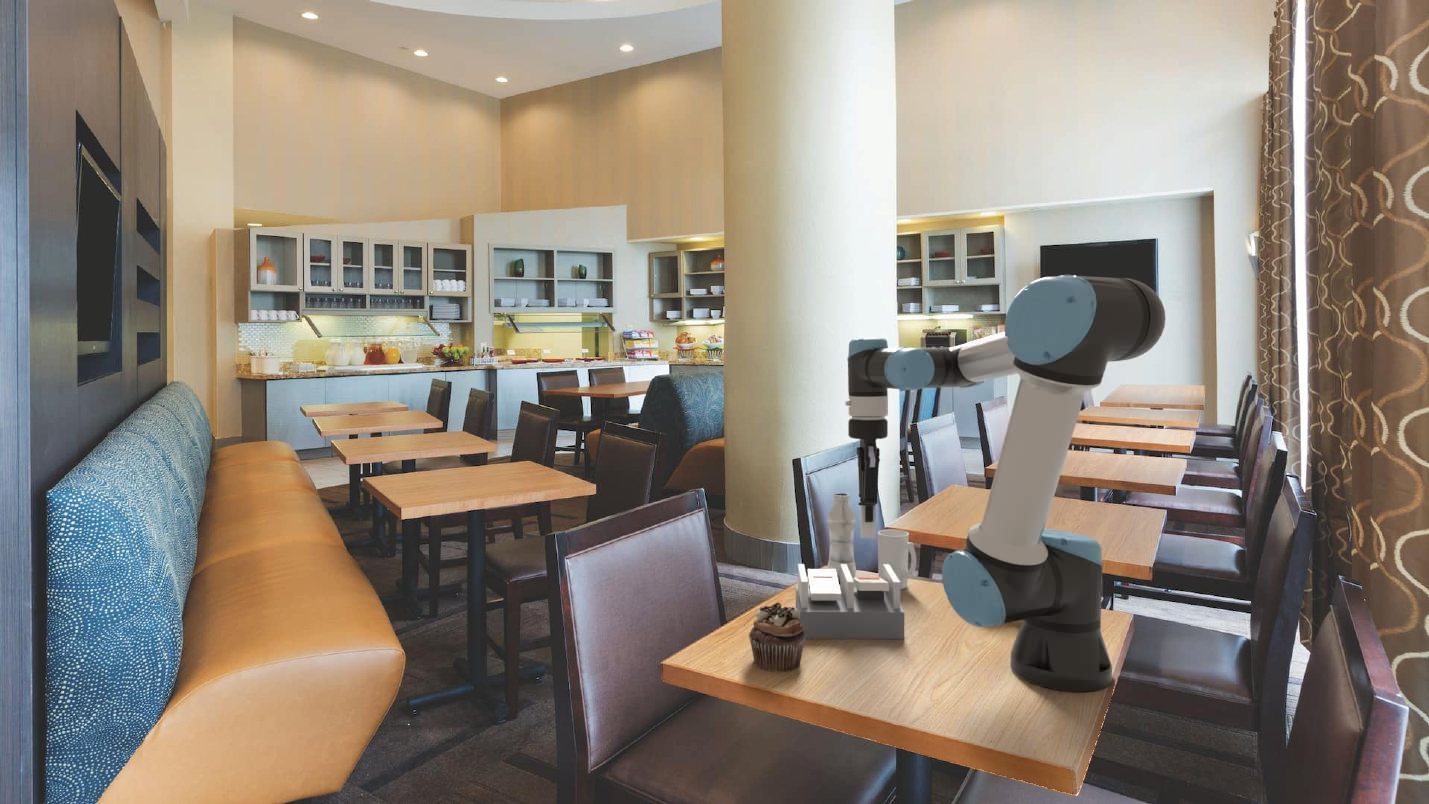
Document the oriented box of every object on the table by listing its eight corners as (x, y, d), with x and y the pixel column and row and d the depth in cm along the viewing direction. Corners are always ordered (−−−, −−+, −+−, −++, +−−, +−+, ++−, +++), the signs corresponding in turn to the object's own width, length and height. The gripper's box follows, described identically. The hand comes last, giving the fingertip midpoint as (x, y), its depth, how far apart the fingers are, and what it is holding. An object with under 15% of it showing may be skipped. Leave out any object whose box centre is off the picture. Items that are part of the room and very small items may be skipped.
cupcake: (815, 658, 133) (814, 601, 133) (789, 678, 125) (788, 618, 125) (766, 647, 139) (765, 592, 138) (738, 666, 130) (737, 608, 130)
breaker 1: (840, 600, 145) (840, 592, 144) (811, 600, 145) (811, 592, 145) (835, 576, 155) (835, 568, 154) (807, 576, 155) (807, 568, 154)
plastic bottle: (835, 586, 174) (834, 498, 172) (822, 577, 180) (822, 492, 179) (861, 583, 175) (861, 496, 174) (847, 575, 182) (847, 491, 181)
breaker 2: (889, 590, 144) (888, 581, 144) (859, 590, 145) (859, 581, 145) (880, 585, 154) (880, 576, 154) (852, 585, 154) (852, 576, 155)
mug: (871, 584, 175) (871, 532, 174) (892, 579, 178) (892, 528, 177) (904, 596, 166) (904, 541, 165) (926, 590, 170) (926, 536, 169)
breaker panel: (904, 639, 142) (904, 585, 141) (800, 638, 143) (799, 585, 142) (889, 609, 157) (889, 561, 157) (795, 609, 159) (795, 561, 158)
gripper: (844, 415, 157) (845, 529, 159) (852, 420, 144) (852, 545, 146) (881, 414, 157) (881, 529, 158) (893, 420, 144) (893, 545, 145)
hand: (868, 537), depth 152 cm, fingers closed
